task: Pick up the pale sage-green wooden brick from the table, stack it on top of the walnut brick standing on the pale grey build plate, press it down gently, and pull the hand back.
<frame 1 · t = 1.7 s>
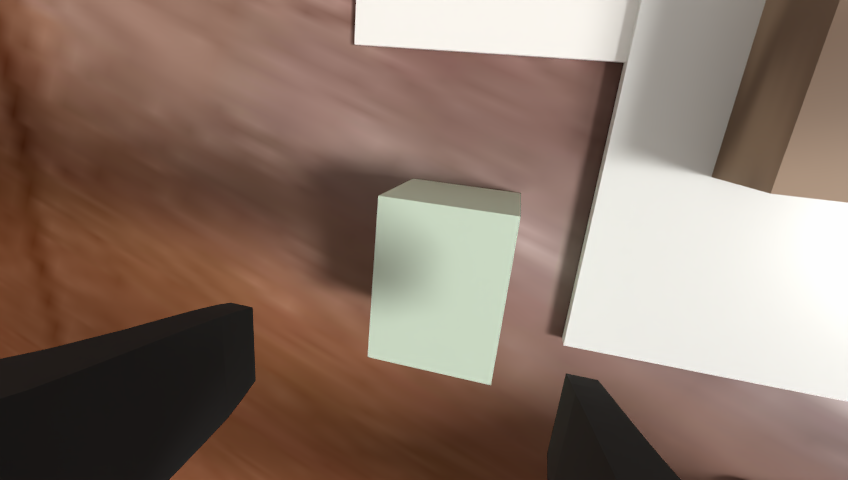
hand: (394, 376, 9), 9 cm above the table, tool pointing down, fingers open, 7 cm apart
build plate: (834, 142, 13), on the table
sage brick: (457, 253, 17), on the table
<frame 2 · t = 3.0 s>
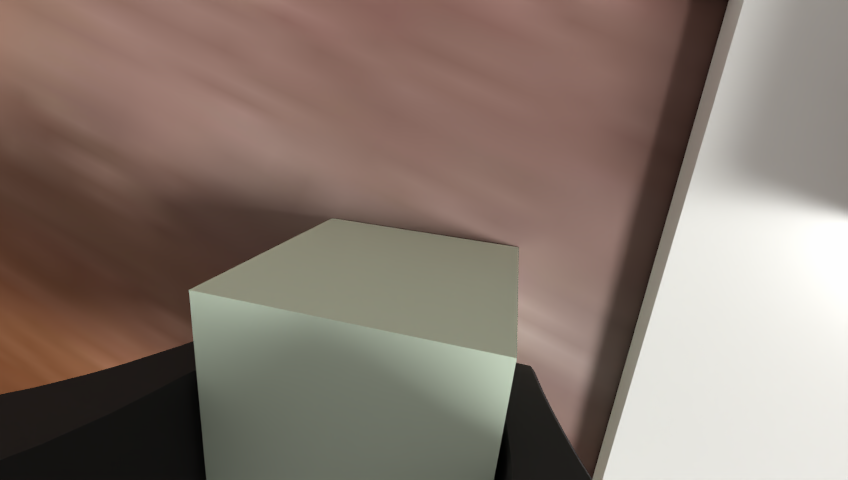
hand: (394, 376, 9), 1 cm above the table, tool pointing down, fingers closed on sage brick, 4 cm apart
sage brick: (410, 343, 10), on the table, touching gripper
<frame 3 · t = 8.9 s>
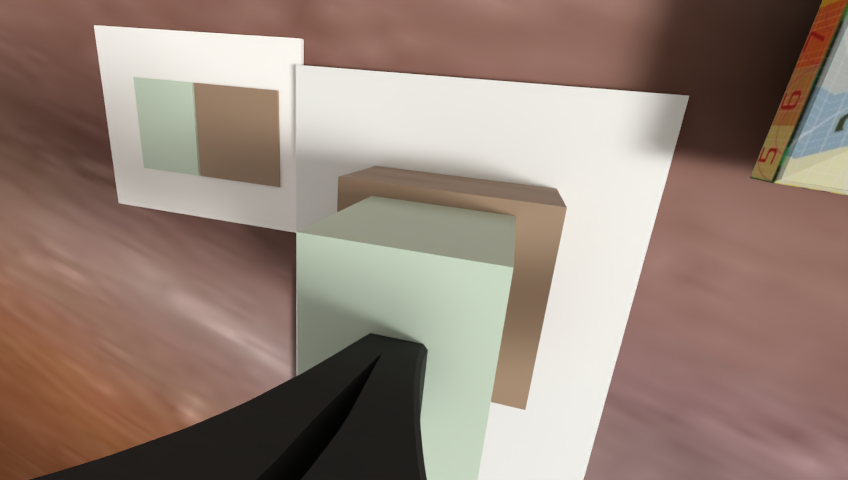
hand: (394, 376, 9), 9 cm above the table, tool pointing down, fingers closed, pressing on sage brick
walnut brick: (451, 262, 16), point 1 cm above the table, touching build plate, sage brick
build plate: (448, 300, 17), on the table
sage brick: (431, 295, 13), point 4 cm above the table, touching gripper, walnut brick
instruction card: (202, 130, 18), on the table
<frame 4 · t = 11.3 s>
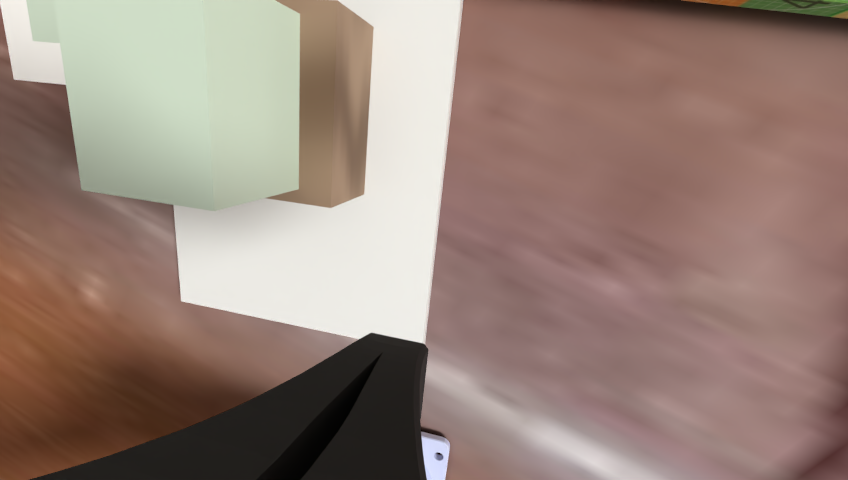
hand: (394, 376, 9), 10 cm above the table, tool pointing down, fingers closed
walnut brick: (295, 108, 18), point 1 cm above the table, touching build plate, sage brick
build plate: (301, 152, 19), on the table
sage brick: (243, 101, 15), point 4 cm above the table, touching walnut brick
instruction card: (81, 1, 20), on the table
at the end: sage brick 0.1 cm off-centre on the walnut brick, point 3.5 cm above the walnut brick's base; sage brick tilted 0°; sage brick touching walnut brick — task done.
